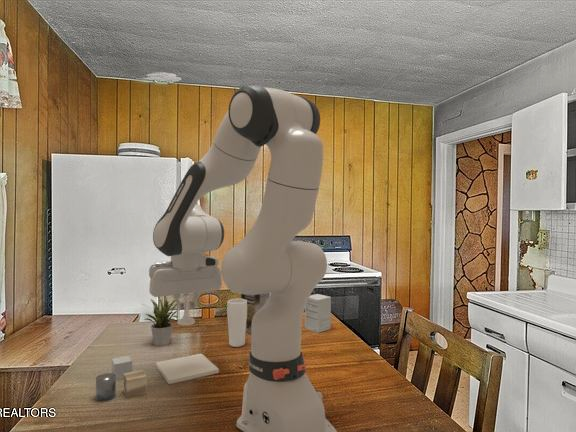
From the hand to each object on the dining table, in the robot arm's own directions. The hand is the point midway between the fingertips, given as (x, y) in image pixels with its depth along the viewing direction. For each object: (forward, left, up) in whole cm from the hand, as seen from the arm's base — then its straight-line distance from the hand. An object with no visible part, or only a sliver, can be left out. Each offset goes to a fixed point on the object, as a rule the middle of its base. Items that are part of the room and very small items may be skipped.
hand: (186, 308), depth 113 cm
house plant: (+25, -1, -18) cm, 31 cm away
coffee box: (+21, -33, -18) cm, 43 cm away
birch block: (-7, +15, -18) cm, 24 cm away
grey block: (+5, +16, -18) cm, 25 cm away
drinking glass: (+11, -21, -18) cm, 30 cm away
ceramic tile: (0, 0, -18) cm, 18 cm away
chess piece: (0, 0, -4) cm, 4 cm away
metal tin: (-6, +22, -18) cm, 29 cm away
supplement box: (+11, -55, -18) cm, 59 cm away
